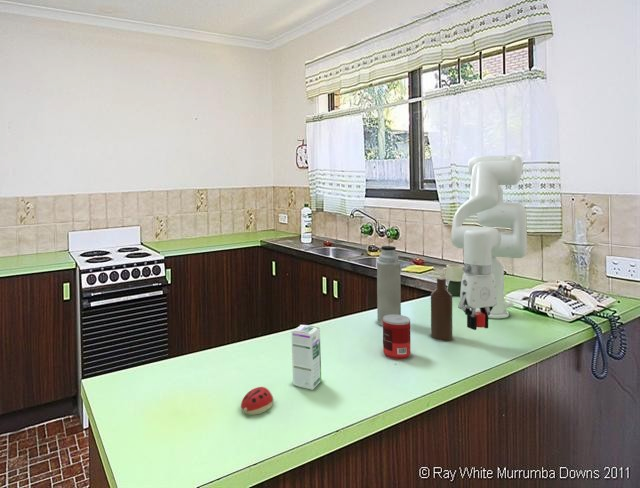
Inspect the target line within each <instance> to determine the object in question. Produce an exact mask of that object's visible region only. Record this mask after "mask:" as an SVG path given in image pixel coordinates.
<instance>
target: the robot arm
mask: <svg viewBox="0 0 640 488" xmlns="http://www.w3.org/2000/svg"><path fill="white" fill-rule="evenodd" d="M523 166H524V165H523V160H522V158H521V157H520V156H519V155H516V154H503V155H479V156H474V157H472V158H470V159H469V160H468V163H467V169H468V172H469V175H470V177H471V178H470V188H469V198H468V200H466V201H464V202H463V203H462V204H461V205H460V206H459V208H458V209H457V210H456V212H455V213H454V215H453V218H452V223H451V232H450V239H451V243H452V245H453V246H454V247H455V248H457V249H463V266H464V267H463V268H462V270H463V271H464V273H463V276H462V281H461V291H460V295H459V297H460V298H459V299H460V301H459V303H458V305H457V306H458V309H460V310H461V311H462V312H464V315H466V327H467V328H468V329H471V330H474V331H477V330H478V329H477V328H478V327H477V318H476V317H475V312H482V313H484V314H485V327H483V329H489V319H506V318H508V317H510V313H509V311H508V310H507V309H510V308H514V303H513V301H509V302H508V301H507V302H506V301H505V269H504V266H503V264H502V263H501V262H500V260H499V259H498V258H507V259H508V258H511V259H521V258H524V257H525V256H526V254H527V250H528V249H527V248H528V233H527V232H528V230H527V229H528V225H527V224H528V220H527V219H528V218H527V210H526V207H525V206H524V205H523V204H522V203H519V202H504V200H503V198H504V197H503V196H504V195H503V194H504V190H503V187H502V186H516V185H517V184H519V182H520V181H521V177H522V174H523V170H524V169H523ZM474 215H476V219H477V222H478V223H477V224H478V225H480V226H478V225H477V226H476V225H463V224H464V222H465V220H466V219H468V218H469V217H471V216H474ZM497 228H498V229H500V228H502V229H511V231H503V230H502V231H501V230H498V229H497Z"/></svg>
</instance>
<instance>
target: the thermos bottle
mask: <svg viewBox="0 0 640 488" xmlns="http://www.w3.org/2000/svg"><path fill="white" fill-rule="evenodd" d="M396 249H397V248H396V246H393V245H382V246H381V252H380V253H381V254H379V255H378V260H377V261H376V295H377V296H376V298H377V299H376V300H377V301H376V302H377V304H376V305H377V306H376V307H377V308H376V309H377V324H378V325H379V326H381V327H383V317H384V316H386V315H392V314H395V315H402V314H401V313H402V307H401V306H402V301H401V300H402V297H401V295H402V293H401V288H402V287H401V262H400V261H399V259H400V258H399V255H398V254H397V252H396Z"/></svg>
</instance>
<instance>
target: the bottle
mask: <svg viewBox="0 0 640 488" xmlns="http://www.w3.org/2000/svg"><path fill="white" fill-rule="evenodd" d="M430 336H431V338H432V339H434V340H436V341H442V342H449V341H451V340H453V295H451V294H450V292H449V291H448V288H447V278H445V277H436V288H435V289H434V290H432V292H431V293H430Z"/></svg>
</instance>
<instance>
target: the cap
mask: <svg viewBox="0 0 640 488" xmlns="http://www.w3.org/2000/svg"><path fill="white" fill-rule="evenodd" d="M475 317H476V318H477V328H484V327H485V314H484V313H482V312H475Z"/></svg>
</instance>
